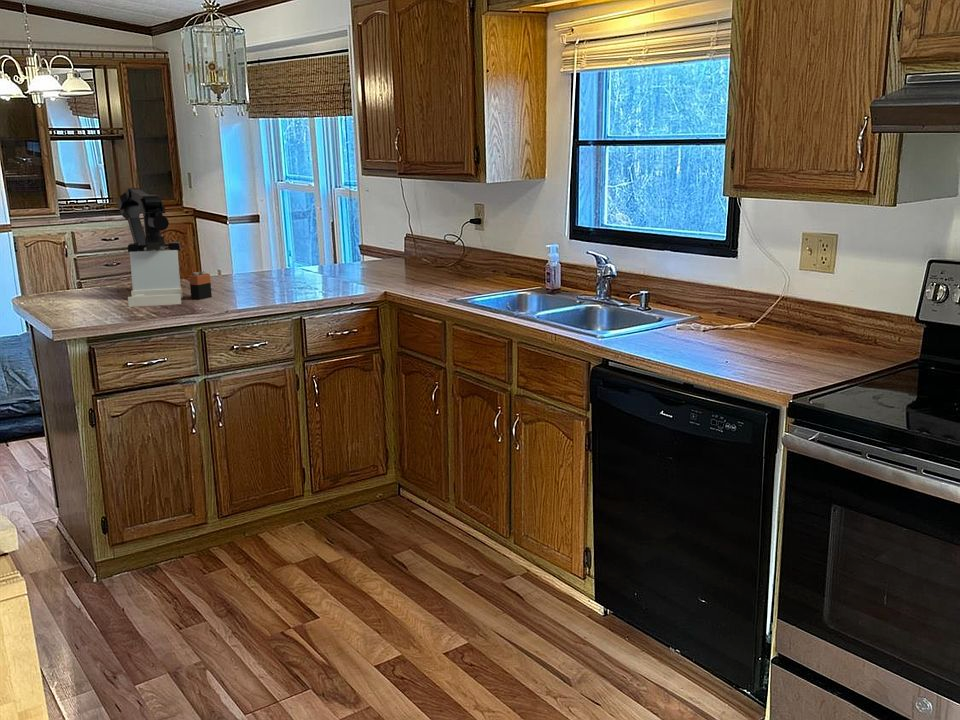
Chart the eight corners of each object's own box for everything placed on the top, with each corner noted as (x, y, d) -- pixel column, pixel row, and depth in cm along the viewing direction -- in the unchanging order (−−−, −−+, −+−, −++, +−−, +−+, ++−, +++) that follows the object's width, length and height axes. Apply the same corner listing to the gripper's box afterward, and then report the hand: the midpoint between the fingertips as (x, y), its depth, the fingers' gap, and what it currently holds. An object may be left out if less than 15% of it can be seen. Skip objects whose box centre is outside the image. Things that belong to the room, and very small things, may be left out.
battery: (190, 299, 327) (188, 272, 324) (204, 296, 332) (202, 270, 330) (198, 300, 324) (196, 273, 322) (212, 297, 330) (210, 271, 328)
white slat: (132, 299, 325) (131, 290, 324) (182, 297, 330) (181, 288, 329) (128, 306, 312) (127, 297, 311) (181, 304, 317) (180, 294, 316)
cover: (132, 290, 324) (133, 290, 325) (180, 288, 329) (180, 288, 330) (129, 251, 323) (129, 251, 324) (177, 250, 328) (177, 250, 329)
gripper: (124, 231, 318) (128, 273, 322) (177, 229, 323) (181, 271, 327) (127, 228, 329) (131, 269, 333) (178, 227, 334) (182, 267, 338)
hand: (156, 269), depth 332 cm, fingers closed
